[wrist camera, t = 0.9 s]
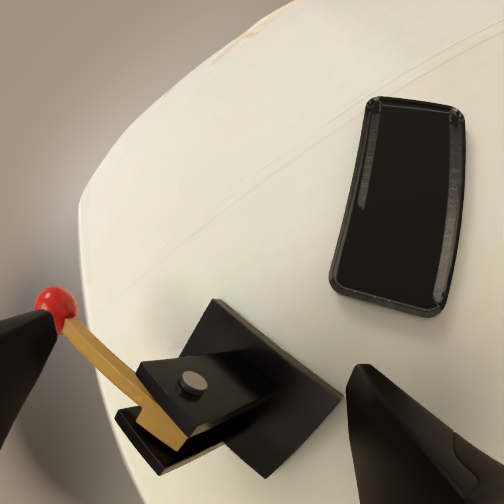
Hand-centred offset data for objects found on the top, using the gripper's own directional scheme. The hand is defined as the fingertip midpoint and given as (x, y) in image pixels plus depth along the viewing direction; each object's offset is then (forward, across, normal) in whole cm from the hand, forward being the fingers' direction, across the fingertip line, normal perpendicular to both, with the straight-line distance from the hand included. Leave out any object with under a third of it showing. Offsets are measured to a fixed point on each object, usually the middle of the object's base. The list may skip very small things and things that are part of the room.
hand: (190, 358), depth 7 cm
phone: (+12, -11, -4) cm, 17 cm away
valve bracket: (+10, -2, +11) cm, 15 cm away
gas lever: (+7, +6, +7) cm, 12 cm away
